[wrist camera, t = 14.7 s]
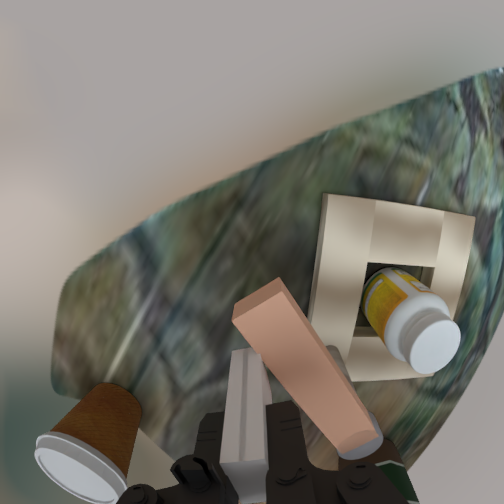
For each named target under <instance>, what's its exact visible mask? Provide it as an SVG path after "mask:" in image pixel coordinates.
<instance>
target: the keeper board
mask: <svg viewBox="0 0 504 504" xmlns="http://www.w3.org/2000/svg"><path fill="white" fill-rule="evenodd" d="M474 224H475V217H473V216H469V215H465V214H460V213H455V212H449V211H444V210H438V209H433V208H427V207H421V206H415V205H409V204H403V203H396V202H390V201H383V200H376V199H369V198H362V197H354V196H346V195H338V194H329V193H323V197H322V207H321V217H320V226H319V234H318V243H317V251H316V259H315V266H314V274H313V281H312V288H311V295H310V301H309V308H308V314H307V319H308V321H309V323H310V324H311V326H312V327H313V329H314V330H315V332H316V333H317V335H318V336H319V338H320V339H321V341H322V342H323V344H324V345H325V347H326V348H327V350H328V351H329V353H330V354H331V356H332V357H333V359H334V360H335V362H336V364H337V365H338V367H339V368H340V370H341V371H342V373H343V374H344V376H345V377H346V379H347V380H348V382H349V383H350V385H351V386H352V388H353V389H354V391H355V393H356V390H355V388H354V386H353V383H352V381H377V380H394V379H407V378H418V377H428V376H433V374H434V373H430V374H421V373H418V372H416V371H415V370H414V369H413V368H412V367H411V366H410V365H409V363H408V362H405V361H401V360H398V359H396V358H395V357H394V356H393V355H391V353H390V352H389V351H388V349H387V348H386V346H385V345H384V343H383V342H382V340H381V339H380V337H379V336H378V334H377V333H376V332H375V330H374V329H373V327H360V326H355V324H356V319H357V315H358V310H359V305H360V300H361V295H362V290H363V285H364V279H365V274H366V268H367V262H375V263H387V264H400V265H412V266H423V270H422V275H421V279H420V282H421V283H422V284H424V285H425V286H426V287H428V288H429V289H430V290H432V291H433V292H434V293H436V294H437V295H438V296H439V297H441V298H442V299H443V300H444V302H445V303H446V305H447V307H448V309H449V313H450V319H451V320H453V318H454V314H455V311H456V307H457V304H458V300H459V296H460V293H461V289H462V285H463V281H464V276H465V272H466V268H467V263H468V258H469V253H470V248H471V242H472V237H473V230H474ZM356 394H357V393H356ZM357 396H358V395H357Z"/></svg>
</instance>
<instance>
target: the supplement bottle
mask: <svg viewBox="0 0 504 504" xmlns="http://www.w3.org/2000/svg"><path fill="white" fill-rule="evenodd" d="M360 305H361V309H362V312H363V314H364V315H365V317H366V318H367V320H368V321H369V323H370V324H371V326H372V327H373V329H374V330H375V332H376V333H377V334H378V336H379V337H380V339H381V340H382V342H383V343H384V345H385V346H386V348H387V349H388V351H389V352H390V353H391V355H393V356H394V357H395V358H396V359H398V360H401V361H405V362H408V363H409V365H410V366H411V367H412V368H413V369H414V370H415V371H416V372H418V373H421V374H430V373H434V372H436V371H438V370H440V369H441V368H443V367H444V366H445V365H447V364H448V363H449V361H450V360H451V359H452V358H453V357H454V355H455V353H456V351H457V350H458V347H459V343H460V337H461V335H460V330H459V327H458V326H457V324H456V323H455V322H454V321H453V320H451V319H450V313H449V309H448V307H447V305H446V303H445V302H444V300H443V299H442V298H441V297H439V296H438V295H437V294H436V293H434V292H433V291H432V290H430V289H429V288H428V287H426V286H425V285H424V284H422V283H421V282H420V281H418V280H417V279H416V278H414V277H413V276H411V275H410V274H409V273H407V272H406V271H404V270H402V269H400V268H396V267H389V268H384V269H381V270H379V271H378V272H376V273H374V274H373V275H372V276H371V277H370V278H369V280H368V281H367V282H366V284H365V285H364V287H363V290H362V295H361V300H360Z"/></svg>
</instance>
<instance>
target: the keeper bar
mask: <svg viewBox="0 0 504 504" xmlns="http://www.w3.org/2000/svg"><path fill="white" fill-rule="evenodd" d="M232 322H233V323H234V325H235V326H236V327H237V329H238V330H239V331H240V333H241V334H242V335H243V336H244V338H245V339H246V340H247V342H248V343H249V344H250V345H251V347H252V348H253V349H254V350H255V352H256V353H257V354H259V353H260V354H261V358H262V361H263V362H264V363H265V364H266V366H267V367H268V368H269V369H270V371H271V372H272V373H273V374H274V375H275V377H276V378H277V379H278V380H279V382H280V383H281V384H282V385H283V387H284V388H285V389H286V390H287V391H288V393H289V394H290V395H291V396H292V397H293V399H294V400H295V401H296V402H297V403H298V405H299V406H300V407H301V408H302V409H303V410H304V412H305V413H306V414H307V415H308V416H309V417H310V419H311V420H312V421H313V422H314V423H315V424H316V426H317V427H318V428H319V429H320V430H321V431H322V432H323V434H324V435H325V436H326V437H327V438H328V439H329V440H330V442H331V443H332V444H333V445H334V446H335V447H336V449H337V453H338V455H339V456H340V457H341V458H343V459H347V460H355V459H360V458H363V457H366V456H368V455H370V454H372V453H373V452H375V451H376V450H377V449H378V448H379V447H380V446H381V444H382V442H383V435H382V433H381V430H380V428H379V425H378V423H377V421H376V418H375V416H374V414H373V413H371V412H370V411H367V409H366V408H365V406H364V405H363V403H362V402H361V400H360V399H359V397H358V396H357V394H356V393H355V391H354V389H353V388H352V386H351V385H350V383H349V382H348V380H347V379H346V377H345V376H344V374H343V373H342V371H341V370H340V368H339V367H338V365H337V364H336V362H335V360H334V359H333V357H332V356H331V354H330V353H329V351H328V350H327V348H326V347H325V345H324V344H323V342H322V341H321V339H320V338H319V336H318V335H317V333H316V332H315V330H314V329H313V327H312V326H311V324H310V323H309V321H308V319H307V318H306V316H305V315H304V313H303V312H302V310H301V309H300V307H299V306H298V304H297V303H296V301H295V300H294V298H293V297H292V295H291V294H290V292H289V291H288V289H287V288H286V286H285V285H284V283H283V282H282V280H281V279H280V277H278V278H276V279H275V280H273V281H271V282H270V283H268V284H267V285H265V286H263V287H262V288H260V289H258V290H257V291H255V292H253V293H252V294H250V295H248V296H247V297H245V298H243V299H242V300H240V301H238V302H237V303H235V305H234V311H233V316H232Z"/></svg>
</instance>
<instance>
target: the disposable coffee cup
mask: <svg viewBox="0 0 504 504" xmlns="http://www.w3.org/2000/svg"><path fill="white" fill-rule="evenodd" d="M141 416H142V410H141V406H140V404H139V402H138V401H137V400H136V398H135V397H134V396H133V395H132V394H130V393H129V392H128V391H127V390H125V389H123V388H122V387H120V386H117V385H115V384H110V383H100V384H98V385H96V386H95V387H94V388H93V389H92V390H91V391H90V392H89V393H88V394H87V395H86V396H85V397H84V398H83V399H82V400H81V401H80V402H79V403H78V404H77V405H76V406H75V407H74V408H73V409H72V410H71V411H70V412H69V413H68V414H67V415H66V416H65V417H64V418H63V419H62V420H61V421H60V422H59V423H58V424H57V425H56V426H55V427H54V428H53V429H52V430H51V431H50V432H47V433H45V434H43V435H40V436H39V437H38V439H37V441H36V446H37V447H36V451H35V458H36V461H37V462H38V464H39V466H40V467H41V469H42V470H43V471H44V472H45V473H46V474H47V475H48V476H49V477H50V478H51V479H52V480H53V481H54V482H55V483H57V484H58V485H59V486H61V487H62V488H64V489H65V490H66V491H68V492H70V493H72V494H74V495H75V496H77V497H79V498H81V499H83V500H86V501H88V502H91V503H95V504H116V502H117V501H118V499H119V498H120V497H121V495H122V494H123V492H124V491H125V490H126V489H127V481H126V478H127V474H128V469H129V465H130V460H131V455H132V452H133V448H134V443H135V439H136V435H137V431H138V427H139V423H140V419H141Z"/></svg>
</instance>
